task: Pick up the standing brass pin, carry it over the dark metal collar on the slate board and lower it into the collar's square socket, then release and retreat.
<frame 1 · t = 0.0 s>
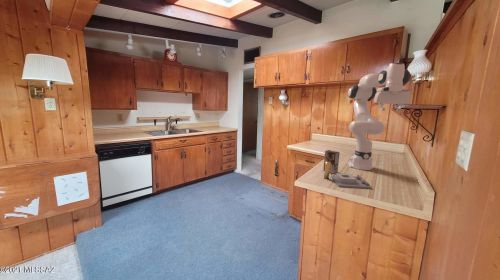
hand: (390, 111, 134), 48 cm above the counter, fingers open, 8 cm apart
coffee box: (330, 171, 161), on the counter
pin: (326, 178, 146), on the counter
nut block: (349, 182, 140), on the counter
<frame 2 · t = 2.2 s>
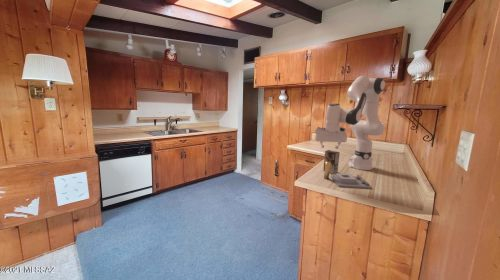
hand: (329, 148, 142), 22 cm above the counter, fingers open, 8 cm apart
nothing on the counter moved.
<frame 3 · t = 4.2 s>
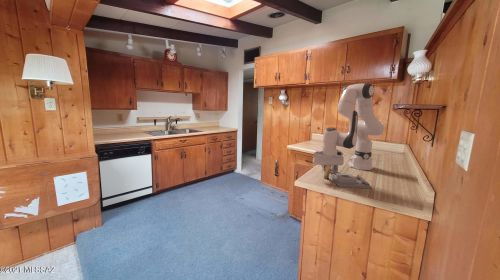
hand: (327, 170, 145), 6 cm above the counter, fingers closed on pin, 3 cm apart
pin: (326, 178, 146), on the counter, touching gripper
everything else where it was.
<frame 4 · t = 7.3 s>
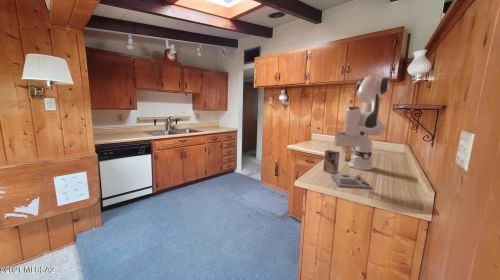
hand: (348, 152, 136), 20 cm above the counter, fingers closed on pin, 3 cm apart
pin: (347, 161, 137), point 15 cm above the counter, touching gripper
everything else where it was.
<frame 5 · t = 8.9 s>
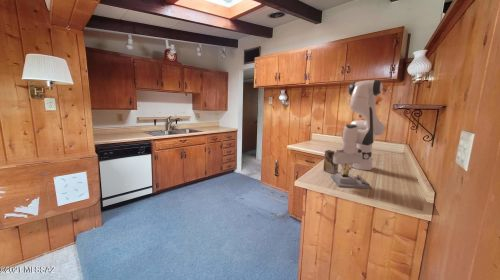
hand: (346, 169, 139), 9 cm above the counter, fingers closed on pin, 3 cm apart
pin: (345, 177, 140), point 3 cm above the counter, touching gripper
everything else where it was.
when the fingers open (8 cm above the counter, at t = 10.0 s): pin stays where it is, resting on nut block.
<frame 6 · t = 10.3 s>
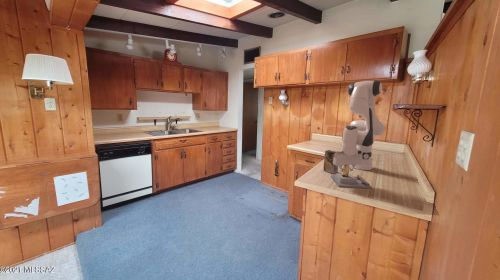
hand: (346, 171, 139), 8 cm above the counter, fingers open, 6 cm apart
pin: (345, 180, 140), point 1 cm above the counter, touching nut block
everything else where it was.
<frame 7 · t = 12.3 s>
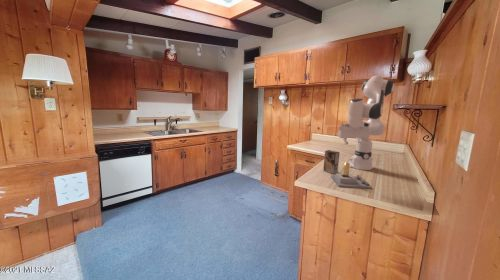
hand: (352, 144, 140), 25 cm above the counter, fingers open, 8 cm apart
nothing on the counter moved.
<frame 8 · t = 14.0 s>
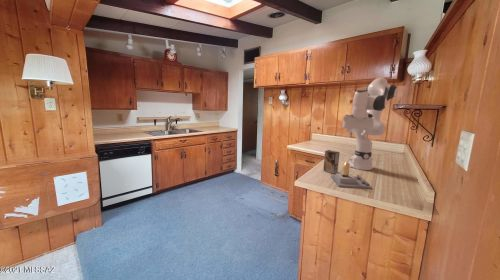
hand: (356, 135, 142), 31 cm above the counter, fingers open, 8 cm apart
nothing on the counter moved.
at the end: pin 0.0 cm from the target spot on the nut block, point 1.2 cm above the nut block's base; pin tilted 0°; the gripper is holding nothing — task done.
